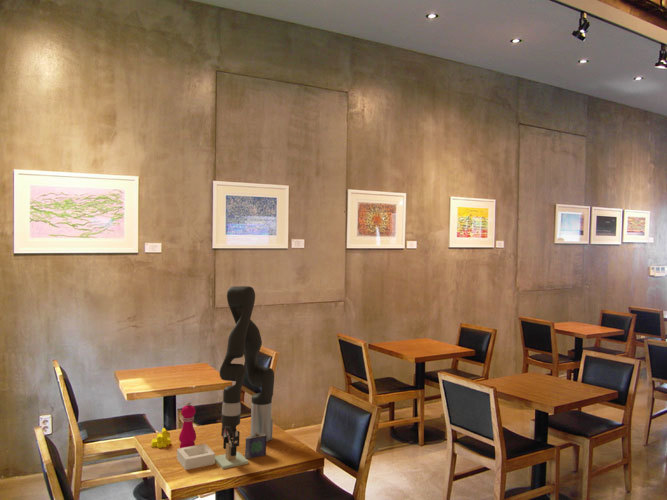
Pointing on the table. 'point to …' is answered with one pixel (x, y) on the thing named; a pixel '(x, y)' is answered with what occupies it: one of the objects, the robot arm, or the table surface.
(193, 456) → the dish
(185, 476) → the table surface
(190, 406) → the pepper mill
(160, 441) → the yellow lumpy cluster
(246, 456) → the flask
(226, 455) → the lid
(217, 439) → the table surface
